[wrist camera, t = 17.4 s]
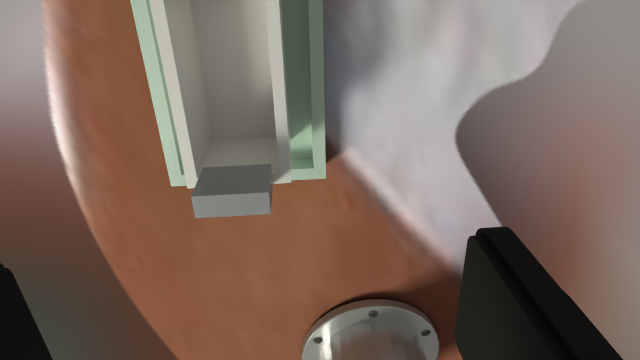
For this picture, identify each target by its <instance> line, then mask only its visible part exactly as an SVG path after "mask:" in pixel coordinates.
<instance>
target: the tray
mask: <svg viewBox="0 0 640 360" xmlns="http://www.w3.org/2000/svg"><path fill="white" fill-rule="evenodd" d="M130 1H131V5H132V10H133V14H134V19H135V24H136V28H137V33H138V37H139V42H140V46H141V51H142V55H143V60H144V65H145V69H146V74H147V78H148V83H149V87H150V92H151V96H152V101H153V106H154V110H155V115H156V119H157V124H158V128H159V133H160V137H161V142H162V146H163V151H164V156H165V160H166V165H167V169H168V174H169V178H170V183H171V186H187V184H186V179H185V174H184V169H183V164H182V159H181V154H180V149H179V144H178V140H177V135H176V130H175V125H174V120H173V115H172V110H171V105H170V100H169V95H168V91H167V86H166V81H165V76H164V71H163V66H162V61H161V56H160V51H159V47H158V42H157V37H156V32H155V27H154V22H153V17H152V12H151V7H150V2H149V0H130ZM282 14H283V30H284V45H285V61H286V76H287V92H288V107H289V123H290V139H291V180H305V179H325V178H326V155H325V94H324V34H323V0H282Z"/></svg>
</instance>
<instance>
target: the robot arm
mask: <svg viewBox="0 0 640 360" xmlns="http://www.w3.org/2000/svg"><path fill="white" fill-rule="evenodd" d="M455 337H456V343H457V346H458V349H459V351H460V354H461V356H462V358H463V360H623V359H622V358H621V357H620V355H619V354H618V353H617V352H616V351H615V350H614V348H613V347H612V346H611V345H610V344H609V343H608V341H607V340H606V339H605V338H604V337H603V336H602V334H601V333H600V332H599V331H598V330H597V328H596V327H595V326H594V325H593V324H592V322H591V321H590V320H589V319H588V318H587V317H586V315H585V314H584V313H583V312H582V311H581V309H580V308H579V307H578V306H577V305H576V304H575V302H574V301H573V300H572V299H571V298H570V297H569V296H568V295H567V294H566V293H565V292H564V291H563V290H562V289H561V288H560V287H559V286H558V285H557V284H556V282H555V281H554V280H553V278H552V277H551V276H550V275H549V274H548V273H547V271H546V270H545V269H544V268H543V267H542V265H541V264H540V263H539V262H538V261H537V259H536V258H535V257H534V256H533V255H532V254H531V252H530V251H529V250H528V249H527V248H526V246H525V245H524V244H523V243H522V242H521V241H520V239H519V238H518V237H517V236H516V235H515V233H514V232H513V231H512V230H511V229H510V228H508V227H493V228H480V229H478V230H477V232H476V235H475V236H470V237H469V239H468V242H467V249H466V256H465V263H464V270H463V278H462V285H461V292H460V299H459V307H458V314H457V321H456V328H455ZM438 353H439V341H438V337H437V334H436V331H435V329H434V327H433V324H432V322H431V321H430V320H429V319H428V317H427V316H426V315H425V314H423V313H422V312H421V311H420V310H418V309H417V308H415V307H413V306H411V305H408V304H406V303H402V302H399V301H395V300H386V299H368V300H362V301H356V302H352V303H349V304H346V305H343V306H340V307H338V308H336V309H334V310H332V311H330V312H329V313H327V314H326V315H324V316H323V317H322V318H320V319H319V320H318V321H317V322H316V323H315V324H314V325H313V326H312V327H311V328H310V330H309V331H308V333H307V334H306V336H305V339H304V342H303V344H302V360H437V356H438ZM0 360H53V359H52V357H51V356H50V353H49V351H48V349H47V346H46V345H45V342H44V340H43V338H42V336H41V333H40V331H39V329H38V327H37V325H36V323H35V321H34V319H33V316H32V314H31V312H30V310H29V308H28V306H27V303H26V301H25V300H24V297H23V295H22V293H21V290H20V288H19V286H18V284H17V282H16V280H15V277H14V275H13V274H12V272H11V270H9V269H8V268H4V266H3V265H2V264H1V263H0Z"/></svg>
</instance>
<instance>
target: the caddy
mask: <svg viewBox="0 0 640 360" xmlns="http://www.w3.org/2000/svg"><path fill="white" fill-rule="evenodd" d="M149 2H150V7H151V12H152V17H153V22H154V27H155V32H156V37H157V42H158V47H159V51H160V56H161V61H162V66H163V71H164V76H165V81H166V86H167V91H168V95H169V100H170V105H171V110H172V115H173V120H174V125H175V130H176V135H177V140H178V144H179V149H180V154H181V159H182V164H183V169H184V174H185V179H186V184H187V188H194V191H193V193H192V196H191V199H192V204H193V208H194V213H195V218H207V217H224V216H241V215H258V214H271V204H272V188H273V184H276V183H291V139H290V123H289V107H288V92H287V76H286V61H285V45H284V30H283V14H282V0H149Z"/></svg>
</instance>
